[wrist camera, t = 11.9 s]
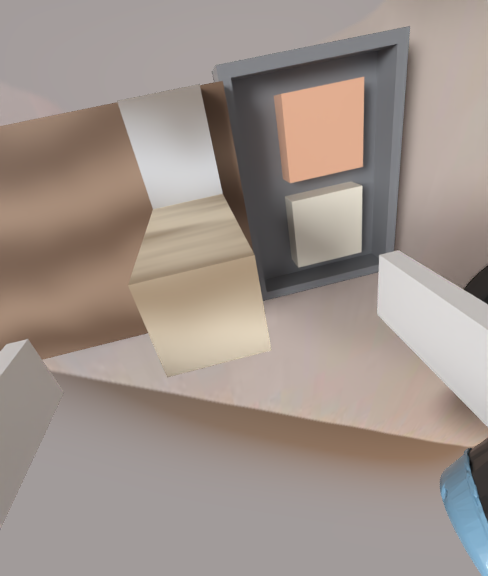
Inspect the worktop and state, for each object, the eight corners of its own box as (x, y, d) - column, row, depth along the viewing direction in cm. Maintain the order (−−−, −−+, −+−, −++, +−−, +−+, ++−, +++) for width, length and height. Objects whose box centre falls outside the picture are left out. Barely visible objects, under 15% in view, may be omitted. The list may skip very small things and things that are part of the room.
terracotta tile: (290, 183, 24) (282, 179, 26) (362, 166, 24) (351, 163, 26) (281, 93, 21) (273, 95, 23) (364, 76, 21) (350, 79, 23)
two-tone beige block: (245, 309, 26) (286, 435, 16) (194, 322, 26) (202, 458, 15) (197, 87, 18) (217, 46, 8) (123, 102, 18) (40, 81, 7)
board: (251, 277, 30) (262, 304, 26) (20, 334, 29) (-8, 372, 25) (215, 87, 22) (222, 80, 18) (-106, 153, 21) (-180, 163, 17)
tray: (375, 256, 32) (392, 268, 29) (253, 286, 31) (259, 301, 28) (384, 36, 23) (410, 26, 20) (211, 71, 22) (215, 65, 19)
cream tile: (298, 267, 28) (291, 258, 30) (361, 252, 28) (351, 244, 30) (291, 201, 25) (284, 196, 27) (362, 185, 25) (350, 181, 27)
